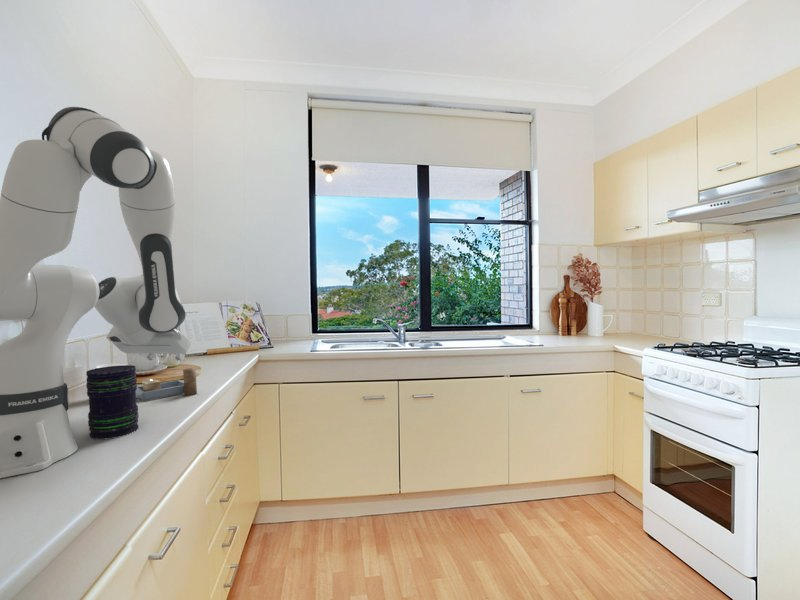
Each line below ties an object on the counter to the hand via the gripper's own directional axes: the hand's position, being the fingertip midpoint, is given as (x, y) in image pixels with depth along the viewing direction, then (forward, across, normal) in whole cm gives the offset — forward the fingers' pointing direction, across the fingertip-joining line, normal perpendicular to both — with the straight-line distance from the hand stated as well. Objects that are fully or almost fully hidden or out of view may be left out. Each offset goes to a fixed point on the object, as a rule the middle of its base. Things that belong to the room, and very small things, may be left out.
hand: (167, 358), depth 125 cm
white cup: (+14, +24, +6) cm, 28 cm away
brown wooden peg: (+17, +1, +2) cm, 17 cm away
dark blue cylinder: (-7, -4, +26) cm, 27 cm away
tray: (+17, +10, +2) cm, 20 cm away
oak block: (+13, +11, +4) cm, 18 cm away
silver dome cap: (+15, +14, +2) cm, 21 cm away
